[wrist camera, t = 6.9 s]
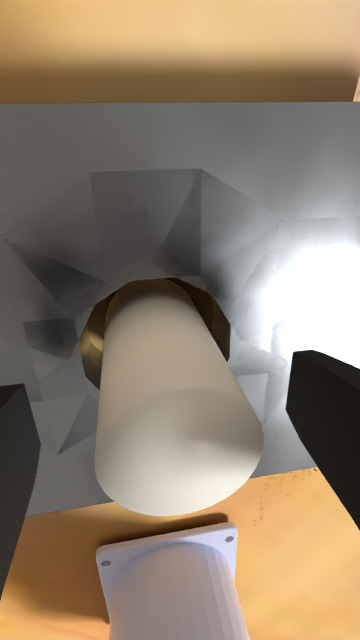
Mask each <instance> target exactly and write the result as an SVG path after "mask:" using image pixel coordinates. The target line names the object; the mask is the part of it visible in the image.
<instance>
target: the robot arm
mask: <svg viewBox="0 0 360 640" xmlns="http://www.w3.org/2000/svg"><path fill="white" fill-rule="evenodd" d="M285 410H286V412H287V414H288V416H289V418H290V421H291V423H292V425H293V427H294V429H295V431H296V433H297V435H298V437H299V439H300V440H301V442H302V444H303V445H304V447H305V448H306V450H307V451H308V453H309V455H310V456H311V458H312V459H313V461H314V462H315V464H316V465H317V467H318V468H319V470H320V471H321V473H322V474H323V476H324V477H325V478H326V480H327V481H328V483H329V484H330V486H331V487H332V489H333V490H334V492H335V493H336V495H337V496H338V498H339V499H340V501H341V502H342V504H343V505H344V507H345V508H346V510H347V511H348V513H349V514H350V516H351V517H352V519H353V520H354V522H355V524H356V525H357V527H358V528H359V530H360V368H358V367H356V366H353V365H351V364H349V363H347V362H344V361H342V360H340V359H337V358H335V357H333V356H330V355H328V354H325V353H323V352H320V351H317V350H314V349H311V350H303V351H294V352H293V355H292V363H291V370H290V378H289V386H288V393H287V401H286V408H285ZM40 449H41V442H40V439H39V435H38V431H37V428H36V424H35V421H34V417H33V413H32V410H31V406H30V403H29V399H28V395H27V392H26V388H25V384H24V383H22V384H13V385H5V386H0V600H1V596H2V592H3V588H4V585H5V581H6V578H7V575H8V571H9V568H10V565H11V561H12V558H13V555H14V551H15V548H16V545H17V542H18V538H19V535H20V532H21V528H22V525H23V522H24V518H25V515H26V512H27V508H28V505H29V501H30V498H31V495H32V491H33V488H34V484H35V479H36V473H37V468H38V462H39V455H40ZM237 536H238V530H237V527H236V524H235V523H233V522H225V523H220V524H214V525H209V526H204V527H199V528H193V529H188V530H183V531H177V532H172V533H167V534H162V535H156V536H151V537H146V538H140V539H135V540H130V541H124V542H119V543H114V544H109V545H104V546H101V547H99V548H98V549H97V550H96V563H97V567H98V572H99V576H100V580H101V585H102V589H103V593H104V597H105V602H106V606H107V610H108V615H109V619H110V640H250V638H249V635H248V631H247V627H246V624H245V620H244V617H243V613H242V609H241V606H240V602H239V599H238V595H237V591H236V588H235V584H234V577H235V563H236V549H237Z"/></svg>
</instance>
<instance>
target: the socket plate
mask: <svg viewBox="0 0 360 640" xmlns="http://www.w3.org/2000/svg"><path fill="white" fill-rule="evenodd" d="M172 277H176V278H178V279H180V280H182V281H185V282H187V283H189V284H191V285H193V286H195V287H197V288H199V289H202V290H204V291H206V292H208V293H209V294H210V296H211V298H212V299H213V313H212V330H211V332H210V334H211V335H212V337H213V339H214V341H215V342H216V344H217V346H218V348H219V350H220V351H221V353H222V355H223V357H224V358H225V360H226V362H227V364H228V365H229V367H230V369H231V371H232V373H233V374H234V376H235V378H236V380H237V381H238V383H239V385H240V387H241V389H242V390H243V392H244V394H245V396H246V397H247V399H248V401H249V403H250V405H251V406H252V408H253V410H254V412H255V413H256V415H257V417H258V419H259V421H260V423H261V426H262V430H263V436H264V444H263V451H262V455H261V458H260V460H259V463H258V465H257V467H256V468H255V470H254V472H253V473H252V474H251V476H250V477H249V478H255V477H261V476H266V475H272V474H278V473H284V472H290V471H296V470H301V469H307V468H313V467H317V465H316V464H315V462H314V461H313V459H312V458H311V456H310V455H309V453H308V451H307V450H306V448H305V447H304V445H303V444H302V442H301V440H300V439H299V437H298V435H297V433H296V431H295V429H294V427H293V425H292V423H291V421H290V418H289V416H288V414H287V412H286V410H285V408H286V401H287V393H288V386H289V378H290V370H291V363H292V355H293V352H294V351H303V350H311V349H314V350H317V351H320V352H323V353H325V354H328V355H330V356H333V357H335V358H337V359H340V360H342V361H344V362H347V363H349V364H351V365H353V366H356V367H358V368H360V102H190V103H0V386H5V385H13V384H22V383H24V384H25V388H26V392H27V395H28V399H29V403H30V406H31V410H32V413H33V417H34V421H35V424H36V428H37V431H38V435H39V439H40V442H41V449H40V455H39V462H38V468H37V473H36V479H35V484H34V488H33V491H32V495H31V498H30V501H29V505H28V508H27V512H26V515H25V517H27V516H33V515H39V514H45V513H50V512H56V511H62V510H68V509H74V508H80V507H85V506H91V505H97V504H103V503H109V502H114V501H113V500H112V499H111V498H109V497H108V495H107V494H106V493H105V492H104V491H103V489H102V488H101V486H100V485H99V482H98V480H97V478H96V473H95V468H94V458H95V446H96V433H97V421H98V408H99V396H100V383H101V371H102V358H103V355H102V354H101V353H100V352H99V351H98V350H97V348H96V347H95V346H94V345H93V344H92V343H91V342H90V336H89V330H88V324H87V321H88V319H89V317H90V315H91V312H92V310H93V308H94V306H95V304H97V303H98V302H100V301H101V300H103V299H105V298H106V297H108V296H109V295H111V294H112V293H114V292H115V291H117V290H118V289H120V288H121V287H123V286H124V285H126V284H127V283H129V282H130V281H134V280H146V279H159V278H172ZM249 478H248V479H249Z"/></svg>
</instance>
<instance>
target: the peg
mask: <svg viewBox="0 0 360 640" xmlns="http://www.w3.org/2000/svg"><path fill="white" fill-rule="evenodd" d="M263 444H264V436H263V430H262V426H261V423H260V421H259V419H258V417H257V415H256V413H255V412H254V410H253V408H252V406H251V405H250V403H249V401H248V399H247V397H246V396H245V394H244V392H243V390H242V389H241V387H240V385H239V383H238V381H237V380H236V378H235V376H234V374H233V373H232V371H231V369H230V367H229V365H228V364H227V362H226V360H225V358H224V357H223V355H222V353H221V351H220V350H219V348H218V346H217V344H216V342H215V341H214V339H213V337H212V335H211V334H210V332H209V330H208V328H207V326H206V325H205V323H204V321H203V319H202V318H201V316H200V314H199V312H198V310H197V309H196V307H195V305H194V303H193V302H192V300H191V298H190V297H189V295H188V294H187V292H186V291H185V290H184V289H183V288H181V287H180V286H179V285H177V284H176V283H174V282H172V281H170V280H167V279H163V278H159V279H146V280H135V281H132V282H130V283H129V284H127V285H125V286H124V287H122V288H121V289H120V290H119V291H118V292H117V293H116V294H115V295H114V297H113V298H112V300H111V301H110V304H109V306H108V309H107V312H106V321H105V333H104V346H103V358H102V371H101V383H100V396H99V408H98V421H97V433H96V446H95V458H94V468H95V473H96V478H97V480H98V482H99V485H100V486H101V488H102V489H103V491H104V492H105V493H106V494H107V495H108V497H109V498H111V499H112V500H113V501H114V502H116V503H117V504H119V505H121V506H122V507H124V508H126V509H129V510H131V511H134V512H137V513H141V514H146V515H153V516H175V515H182V514H188V513H192V512H195V511H199V510H202V509H205V508H207V507H210V506H212V505H214V504H216V503H218V502H220V501H222V500H223V499H225V498H227V497H228V496H230V495H231V494H232V493H234V492H235V491H236V490H237V489H239V488H240V487H241V486H242V485H243V484H244V483H245V482H246V481H247V480H248V478H249V477H250V476H251V474H252V473H253V472H254V470H255V468H256V467H257V465H258V463H259V460H260V458H261V455H262V451H263Z"/></svg>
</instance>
